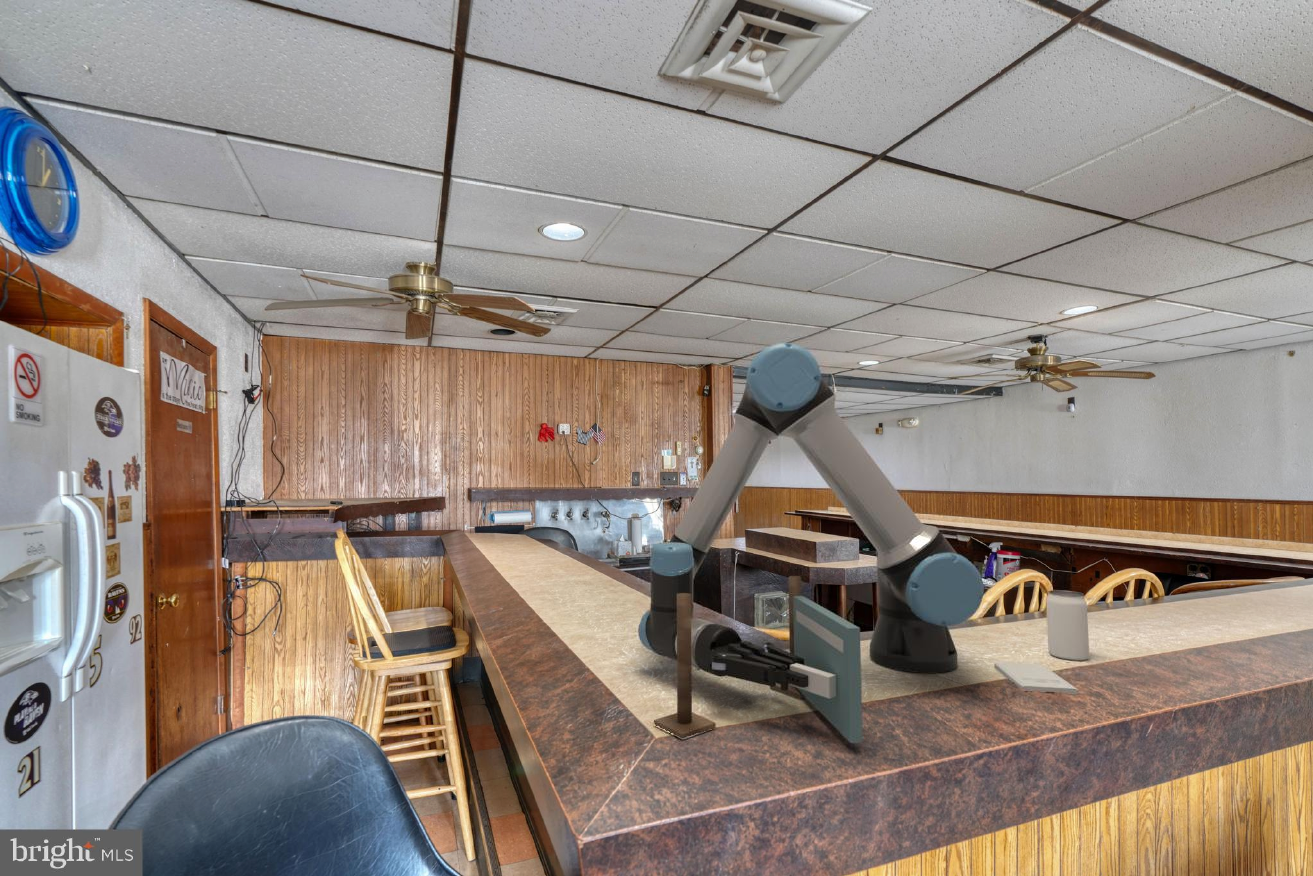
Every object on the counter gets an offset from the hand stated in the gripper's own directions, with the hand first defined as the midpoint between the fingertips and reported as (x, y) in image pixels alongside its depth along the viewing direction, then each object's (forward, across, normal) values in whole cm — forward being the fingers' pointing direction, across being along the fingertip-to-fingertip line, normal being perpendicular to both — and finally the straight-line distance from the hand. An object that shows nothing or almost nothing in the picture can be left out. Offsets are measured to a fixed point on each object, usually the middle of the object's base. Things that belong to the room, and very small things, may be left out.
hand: (832, 686), depth 79 cm
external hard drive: (+6, -46, -8) cm, 48 cm away
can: (+5, -67, -7) cm, 67 cm away
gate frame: (-15, 0, -7) cm, 17 cm away
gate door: (-5, -5, -6) cm, 9 cm away
